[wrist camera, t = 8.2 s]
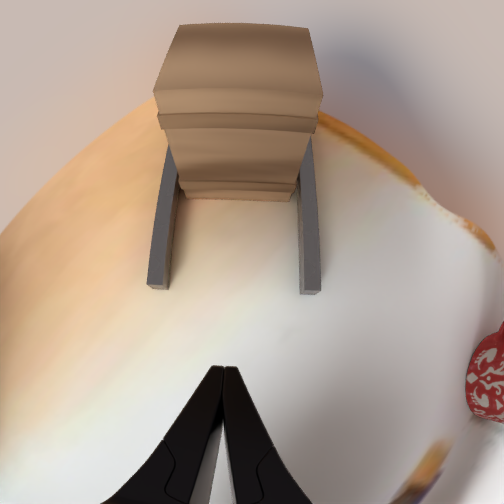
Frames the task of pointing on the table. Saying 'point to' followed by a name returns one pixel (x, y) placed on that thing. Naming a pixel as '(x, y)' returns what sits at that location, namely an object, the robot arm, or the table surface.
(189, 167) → the chest
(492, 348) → the mug
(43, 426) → the table surface
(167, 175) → the bay
